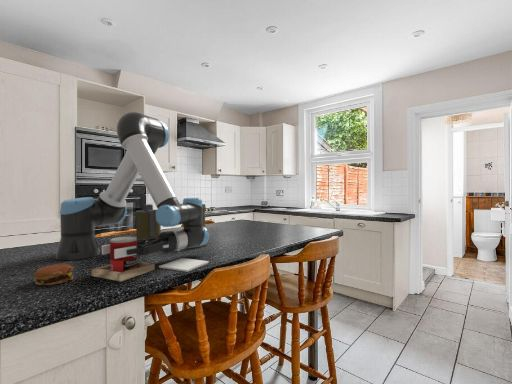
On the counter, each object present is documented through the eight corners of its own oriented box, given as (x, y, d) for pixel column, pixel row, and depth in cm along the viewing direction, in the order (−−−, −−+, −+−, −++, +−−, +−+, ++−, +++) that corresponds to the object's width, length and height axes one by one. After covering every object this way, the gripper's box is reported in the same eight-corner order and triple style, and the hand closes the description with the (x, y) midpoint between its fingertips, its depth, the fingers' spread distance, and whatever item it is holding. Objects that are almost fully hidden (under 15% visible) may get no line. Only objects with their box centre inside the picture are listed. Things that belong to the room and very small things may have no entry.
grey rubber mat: (158, 267, 97) (158, 265, 97) (182, 259, 108) (182, 258, 108) (187, 271, 92) (187, 269, 92) (208, 262, 102) (208, 261, 102)
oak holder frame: (91, 275, 88) (91, 269, 88) (126, 265, 100) (126, 259, 100) (120, 281, 82) (120, 274, 82) (154, 269, 94) (154, 263, 94)
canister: (133, 249, 127) (133, 204, 126) (157, 246, 133) (156, 203, 133) (139, 253, 118) (139, 205, 118) (164, 250, 124) (164, 204, 124)
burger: (35, 280, 85) (35, 264, 85) (72, 275, 90) (72, 260, 90) (32, 290, 76) (32, 273, 76) (74, 283, 82) (73, 267, 82)
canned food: (127, 277, 87) (127, 241, 86) (104, 275, 88) (104, 240, 88) (142, 270, 94) (141, 236, 94) (121, 268, 96) (120, 236, 96)
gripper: (189, 255, 98) (124, 270, 81) (156, 247, 112) (94, 259, 94) (189, 233, 98) (124, 243, 81) (156, 228, 112) (94, 236, 94)
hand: (108, 252), depth 87 cm, fingers closed on canned food, 8 cm apart
